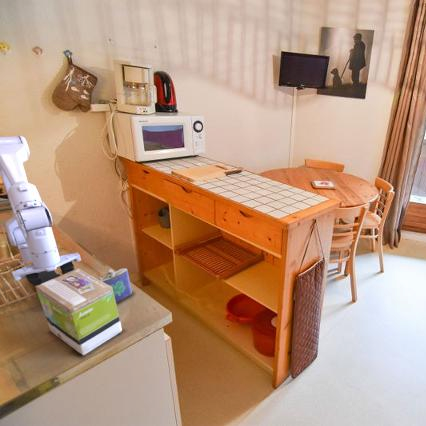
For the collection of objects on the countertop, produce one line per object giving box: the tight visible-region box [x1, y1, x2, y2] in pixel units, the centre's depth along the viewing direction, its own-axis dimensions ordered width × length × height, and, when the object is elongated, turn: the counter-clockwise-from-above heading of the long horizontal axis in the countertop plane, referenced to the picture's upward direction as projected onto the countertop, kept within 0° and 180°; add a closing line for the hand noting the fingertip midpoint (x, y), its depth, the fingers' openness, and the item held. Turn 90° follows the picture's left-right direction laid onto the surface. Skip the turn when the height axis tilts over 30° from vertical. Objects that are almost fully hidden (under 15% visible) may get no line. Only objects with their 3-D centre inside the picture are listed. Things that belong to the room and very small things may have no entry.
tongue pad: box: [38, 270, 58, 282], centre depth 97 cm, size 12×5×4 cm, turn 51°
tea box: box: [34, 267, 123, 356], centre depth 79 cm, size 15×10×15 cm
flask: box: [97, 267, 133, 305], centre depth 92 cm, size 9×3×11 cm, turn 148°
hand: (55, 290), depth 91 cm, fingers closed on slot pad, 5 cm apart
